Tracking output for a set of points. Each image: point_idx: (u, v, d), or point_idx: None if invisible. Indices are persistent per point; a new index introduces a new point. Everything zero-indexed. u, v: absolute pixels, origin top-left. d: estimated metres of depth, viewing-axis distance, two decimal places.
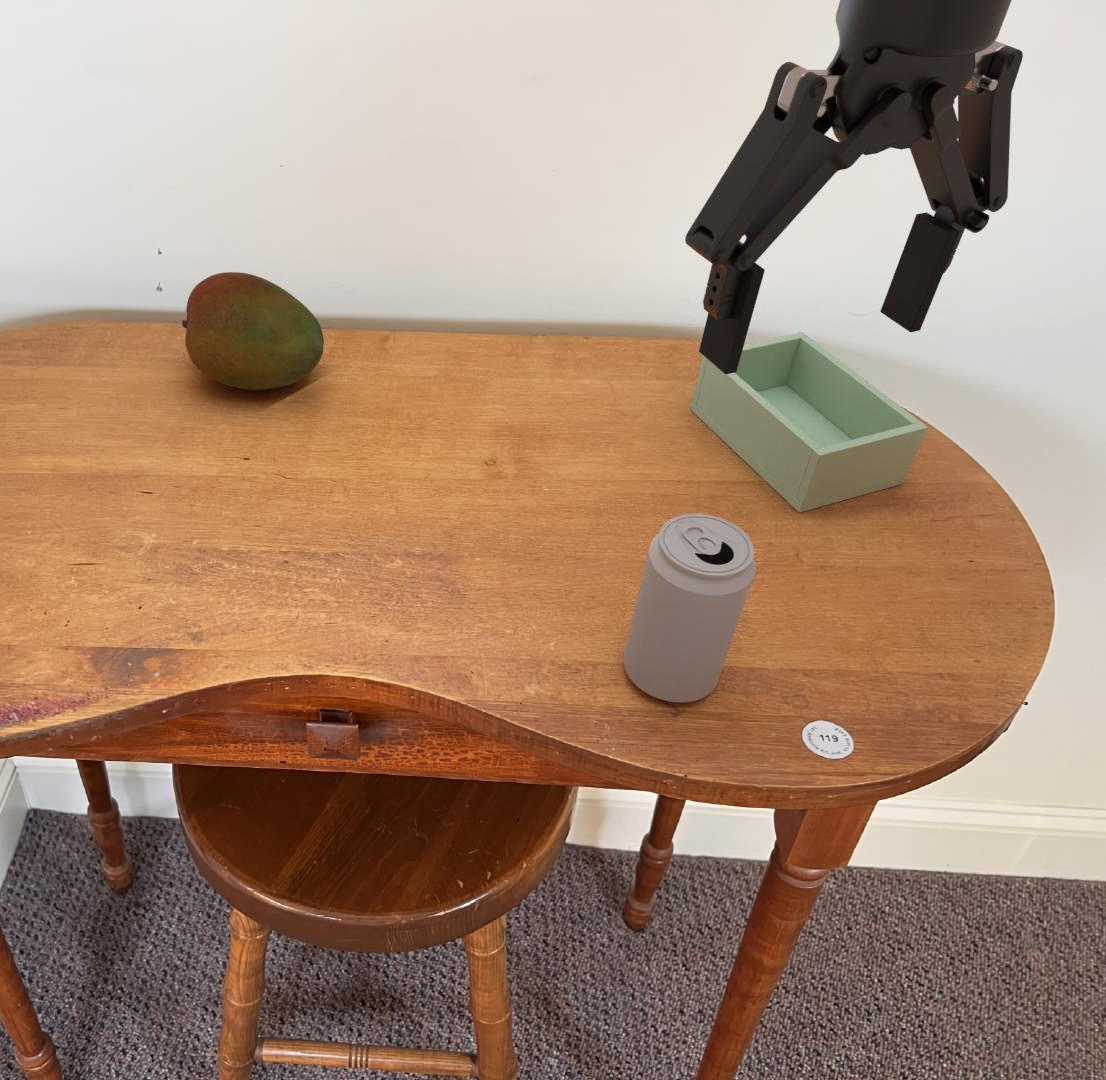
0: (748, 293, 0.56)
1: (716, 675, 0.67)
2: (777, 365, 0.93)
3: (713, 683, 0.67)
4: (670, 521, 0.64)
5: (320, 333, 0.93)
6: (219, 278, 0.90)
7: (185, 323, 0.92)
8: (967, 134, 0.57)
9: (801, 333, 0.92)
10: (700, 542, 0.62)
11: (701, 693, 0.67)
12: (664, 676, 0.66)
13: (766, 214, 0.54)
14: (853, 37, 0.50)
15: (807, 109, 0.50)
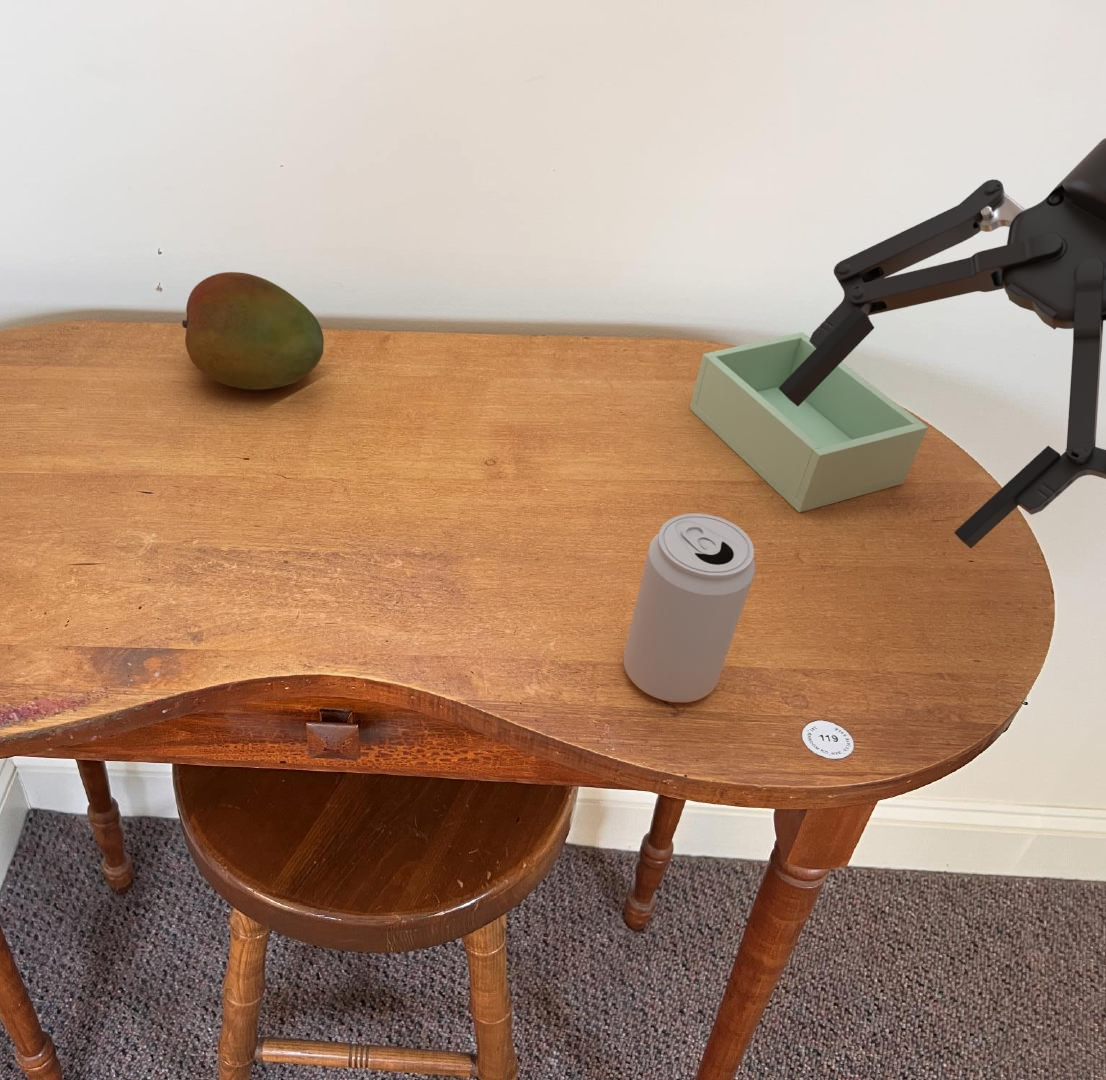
0: (841, 325, 0.63)
1: (716, 675, 0.67)
2: (777, 365, 0.93)
3: (713, 683, 0.67)
4: (670, 521, 0.64)
5: (320, 333, 0.93)
6: (219, 278, 0.90)
7: (185, 323, 0.92)
8: None
9: (801, 333, 0.92)
10: (700, 542, 0.62)
11: (701, 693, 0.67)
12: (664, 676, 0.66)
13: None
14: None
15: (975, 200, 0.60)
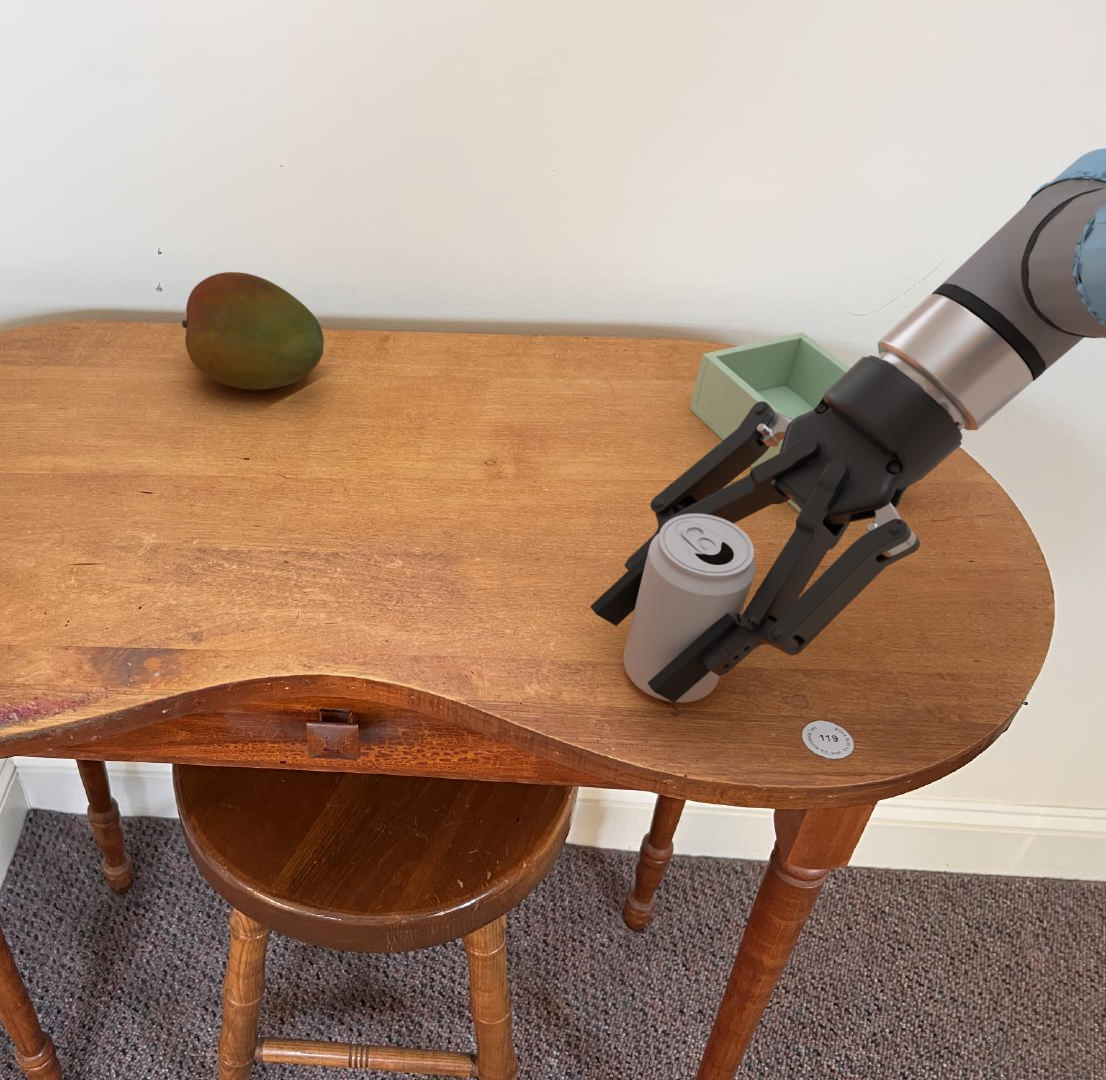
0: None
1: (716, 675, 0.67)
2: (777, 365, 0.93)
3: (713, 683, 0.67)
4: (670, 521, 0.64)
5: (320, 333, 0.93)
6: (219, 278, 0.90)
7: (185, 323, 0.92)
8: None
9: (801, 333, 0.92)
10: (700, 542, 0.62)
11: (701, 693, 0.67)
12: None
13: None
14: None
15: (750, 421, 0.66)
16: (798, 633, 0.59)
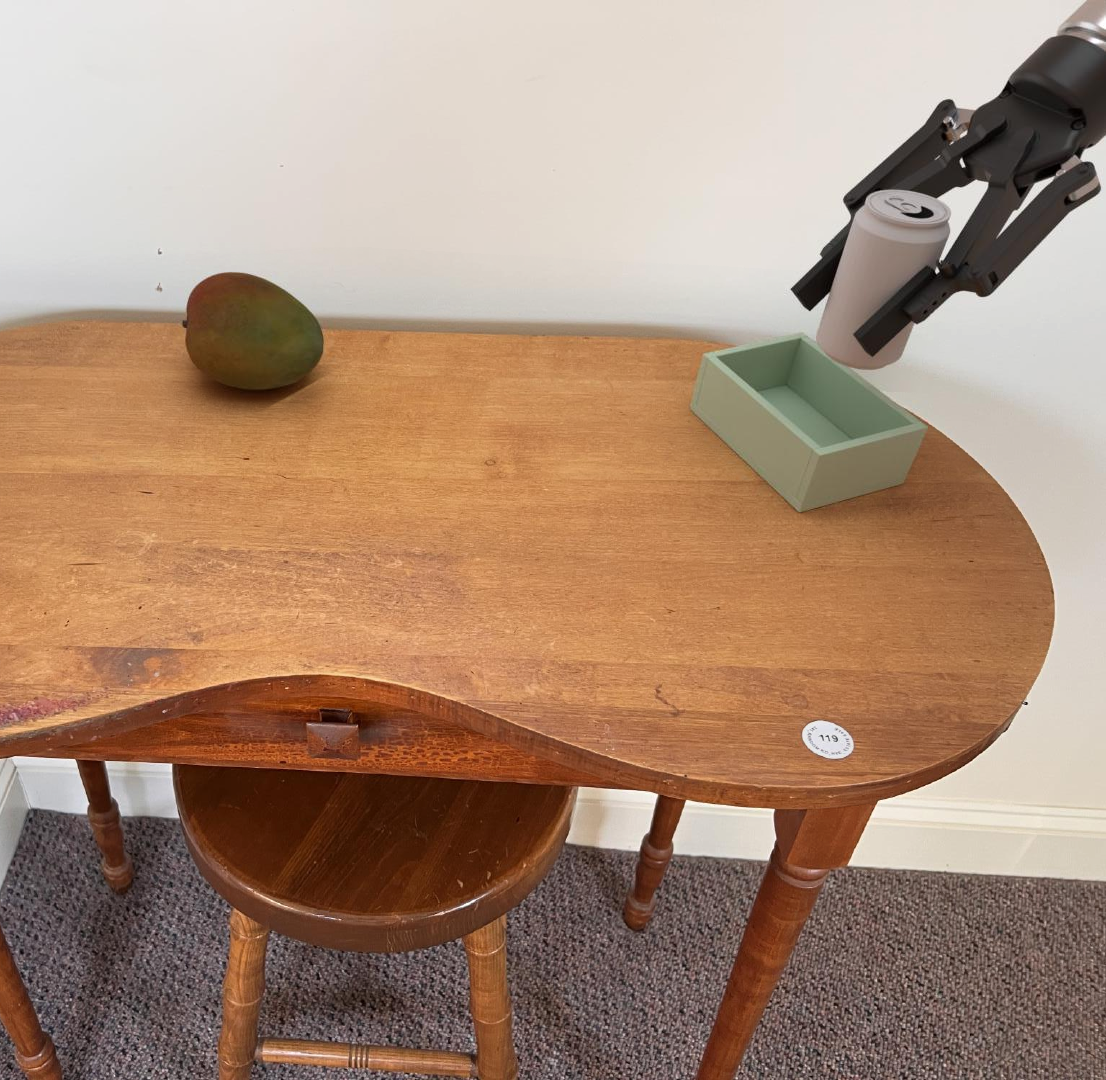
0: (844, 237, 0.77)
1: (905, 340, 0.77)
2: (777, 365, 0.93)
3: (901, 349, 0.77)
4: (873, 194, 0.74)
5: (320, 333, 0.93)
6: (219, 278, 0.90)
7: (185, 323, 0.92)
8: None
9: (801, 333, 0.92)
10: (902, 206, 0.73)
11: (891, 357, 0.77)
12: None
13: None
14: None
15: (936, 116, 0.76)
16: (994, 269, 0.70)
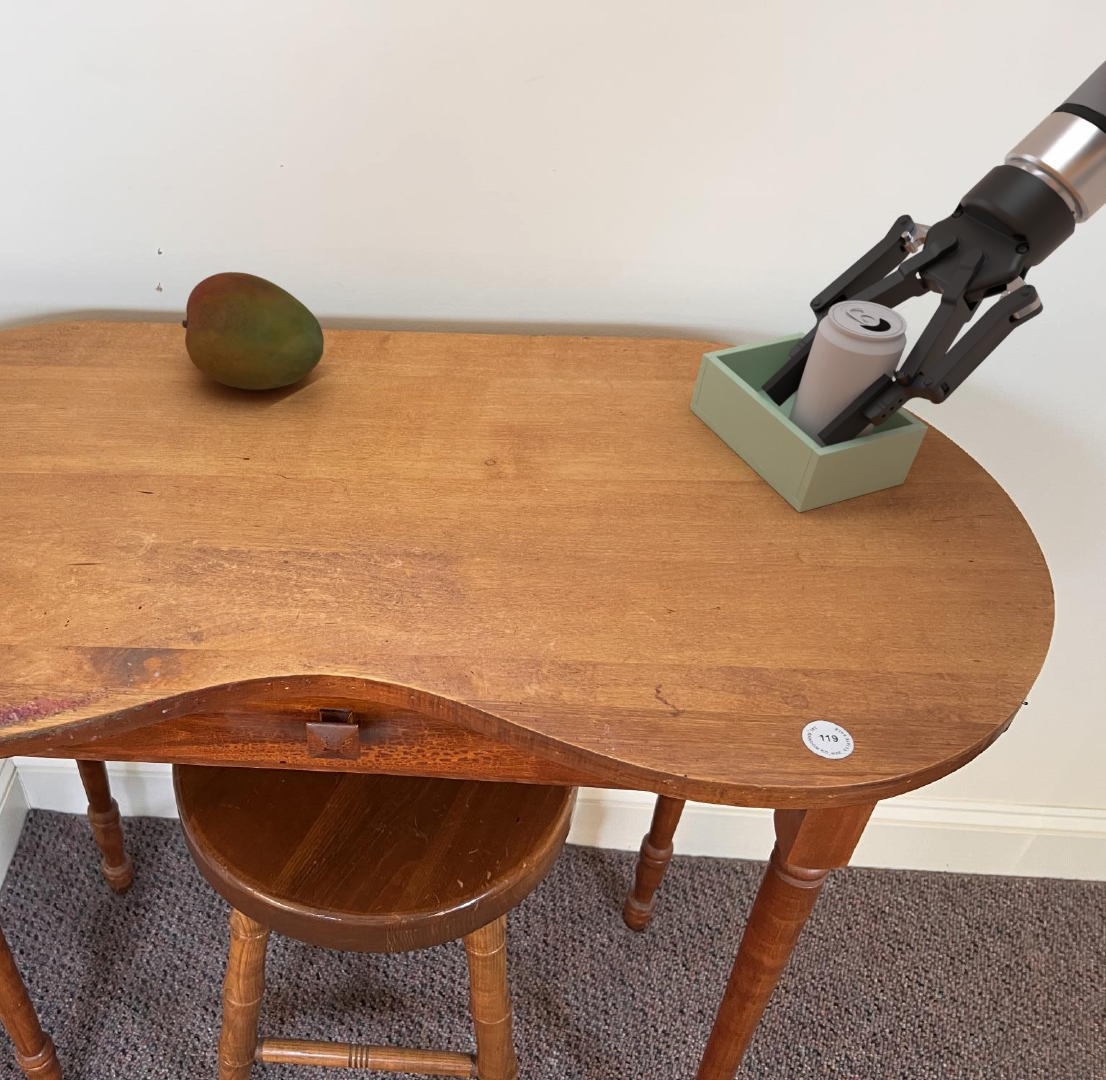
0: (811, 341, 0.83)
1: None
2: (777, 365, 0.93)
3: None
4: (835, 305, 0.80)
5: (320, 333, 0.93)
6: (219, 278, 0.90)
7: (185, 323, 0.92)
8: None
9: (801, 333, 0.92)
10: (862, 318, 0.78)
11: None
12: None
13: None
14: None
15: (895, 230, 0.82)
16: (946, 381, 0.75)
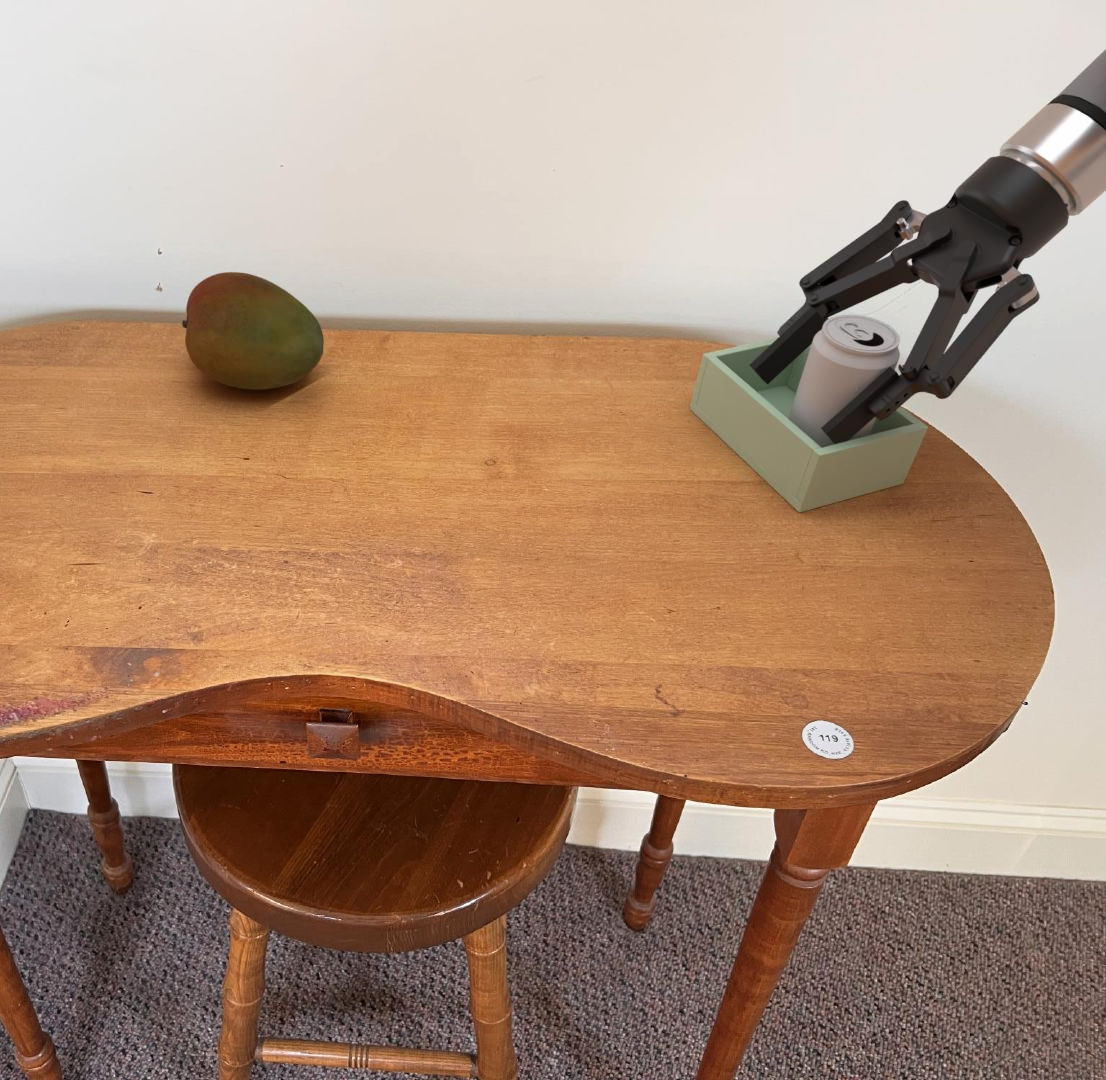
0: (799, 319, 0.84)
1: None
2: None
3: None
4: (830, 319, 0.81)
5: (320, 333, 0.93)
6: (219, 278, 0.90)
7: (185, 323, 0.92)
8: None
9: None
10: (856, 332, 0.79)
11: None
12: None
13: None
14: None
15: (891, 215, 0.82)
16: (951, 374, 0.75)
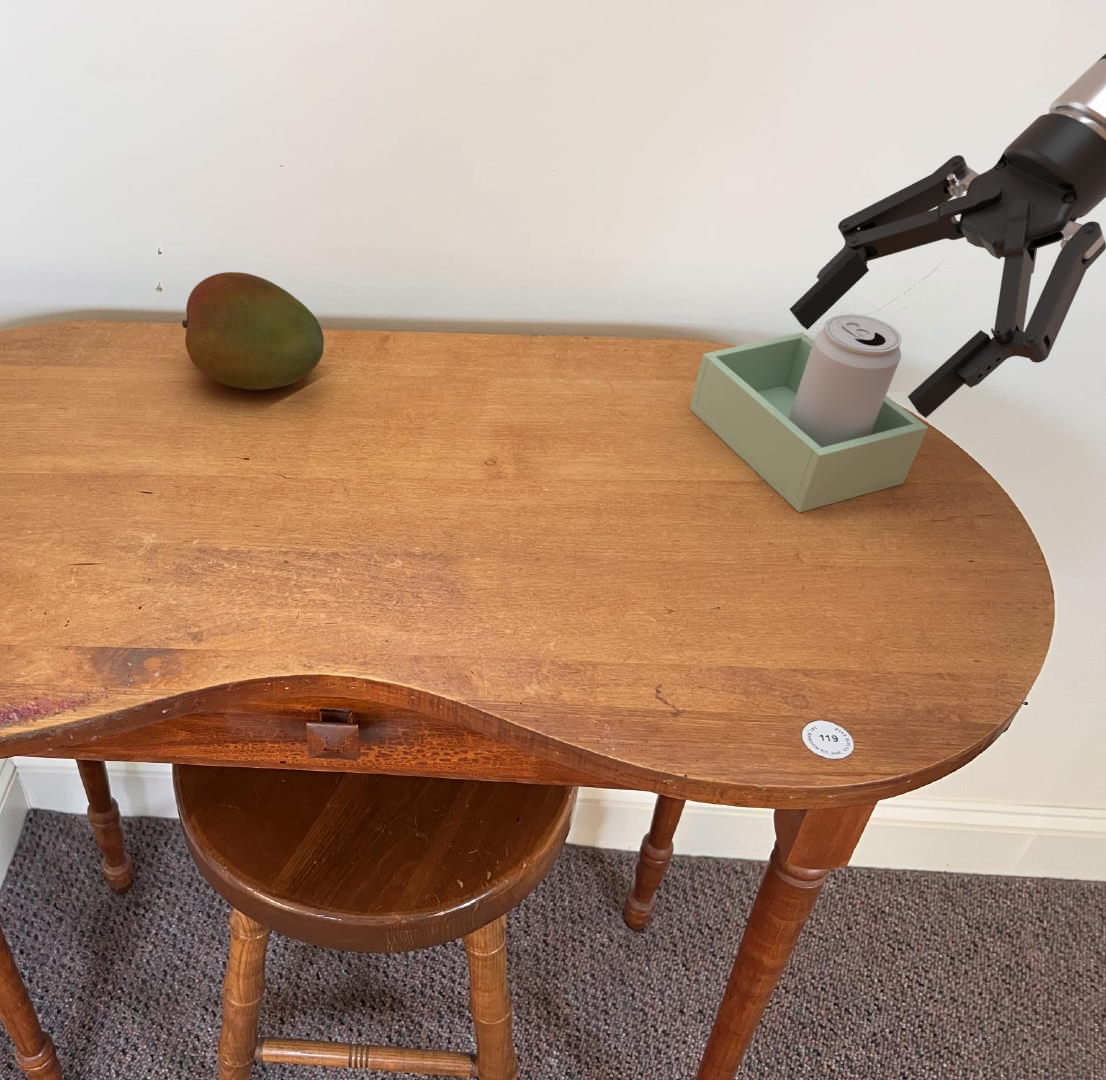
0: (839, 261, 0.83)
1: None
2: (777, 365, 0.93)
3: None
4: (832, 319, 0.81)
5: (320, 333, 0.93)
6: (219, 278, 0.90)
7: (185, 323, 0.92)
8: None
9: (801, 333, 0.92)
10: (857, 332, 0.79)
11: None
12: None
13: None
14: None
15: (943, 170, 0.80)
16: (1047, 333, 0.71)
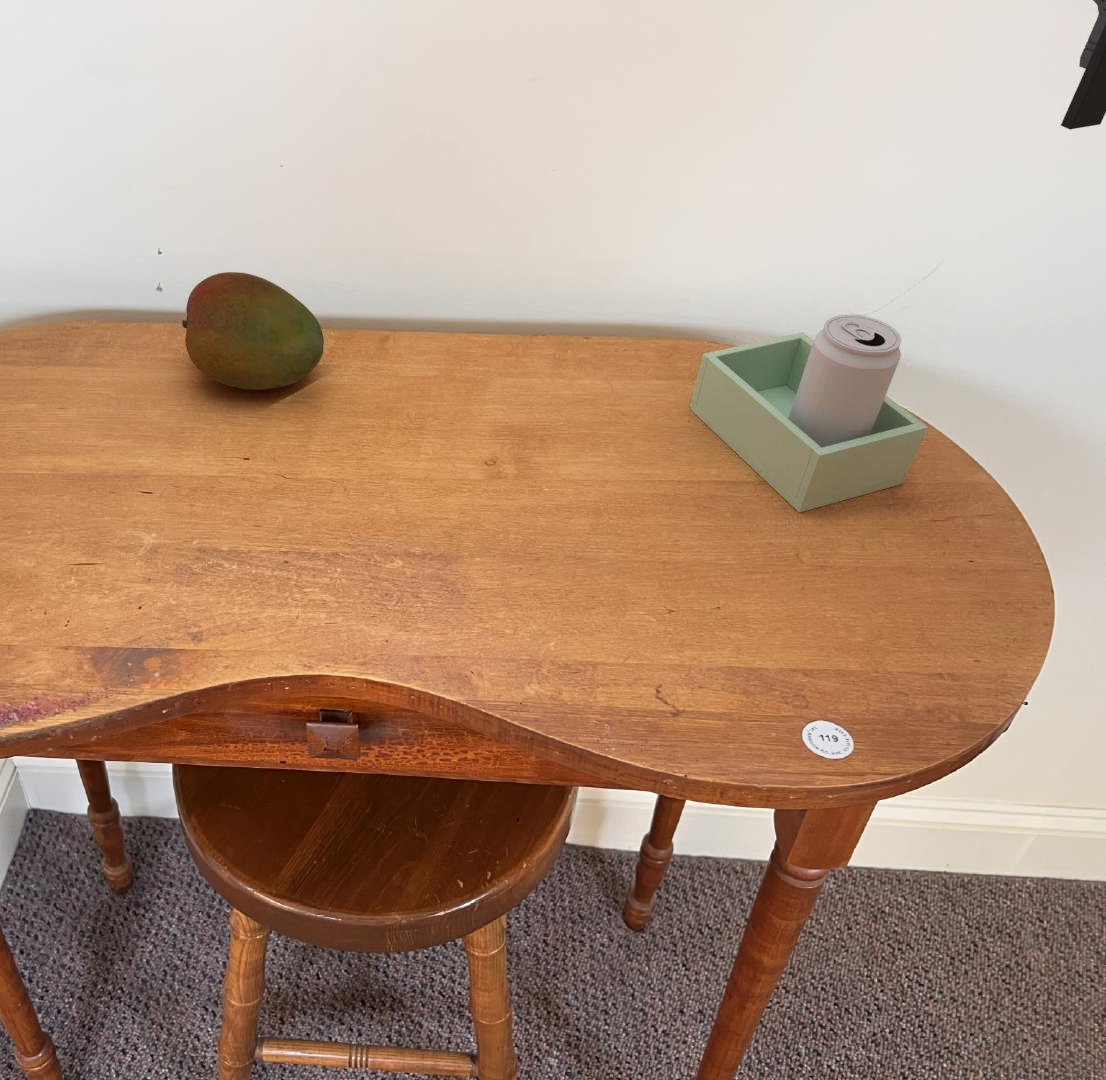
0: (1099, 42, 0.65)
1: None
2: (777, 365, 0.93)
3: None
4: (831, 319, 0.81)
5: (320, 333, 0.93)
6: (219, 278, 0.90)
7: (185, 323, 0.92)
8: None
9: (801, 333, 0.92)
10: (857, 332, 0.79)
11: None
12: None
13: None
14: None
15: None
16: None
